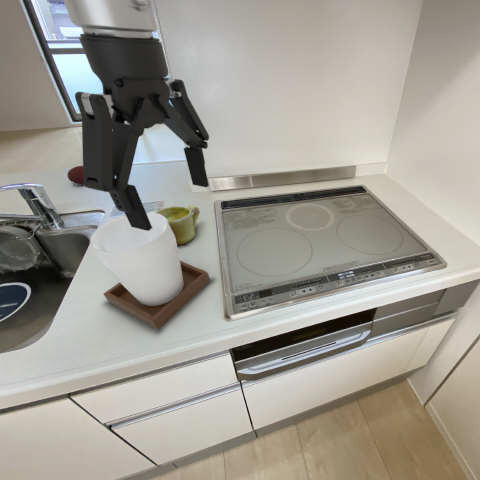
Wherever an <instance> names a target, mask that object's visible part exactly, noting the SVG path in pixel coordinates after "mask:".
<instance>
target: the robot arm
mask: <svg viewBox="0 0 480 480" xmlns="http://www.w3.org/2000/svg"><path fill="white" fill-rule="evenodd" d="M62 1H63V3H64V6H65V8H66V11H67V13H68V16H69V18H70V21H71V23H72V24H73V25H75V26H76V27H79V28H81V30H82V32H83V33H80V34H79V36H80V37H78V39H79V42H80V44H81V47H82V50H83V52H84V54H85V58H86V59H87V62H88V64H89V67H90V70H91V71H92V73H93V74H95V76H96V77H97V78H98V79H99V80H100V82H101V85H102V86H101V87H102V93H91V92H84V91H76V92H75V94H74V99H75V101H76V104H77V107H78V110H79V113H80V116H81V139H82V140H81V141H82V166H83V183H84V184H83V185H84V187H85V188H86V189H91V190H95V191H99V192H105V193H108V194H109V196H110V198H111V200H112V202H113V205H114V206H115V208H116V209H117V210H118V211H119V212H123V213H124V215H126V217H127V219H128V221H129V223H130V225H131V227H134V228H138V229H142V230H146V231H149V230H150V229H152V226H151V223H150V221H149V219H148V216H147V214H146V212H147V211H146V209H145V206H144V204H143V202H142V200H141V197H140V195H139V192H138V189H137V188H136V185H133V184H129V180H130V177H131V172H132V169H133V163H134V159H135V155H136V151H137V148H138V147H137V146H138V142H139V138H140V137H141V136H142V137H143V135H144V133H145V129H146V130H147V129H150V128H153V127H154V126H155V125H163V124H164V125H165V126H166V128H168V129H169V130H170V131H171V132H173V134H175V135H176V137H177V138H179V139H180V140H181V141H182V142H183V143H184V144H185V145H186V147H183V152H184V156H185V159H186V163H187V168H188V172H189V175H190V179H191V181H192V182H191V183H192V185H193V186H198V187H203V188H208V187H209V186H210V184H209V179H208V175H207V169H206V161H205V156H204V155H205V154H204V151H203V149H204V150H207V149H208V147H209V144H208V141H209V140H210V135H209V133H208V131H207V128H206V127H205V126H204V124H203V122H202V120H201V118H200V116H199V114H198V112H197V110H196V109H195V107H194V105H193V103H192V101H191V100H190V98H189V96H188V92H187V89H186V86H185V82H184V81H183V80H182V79H178V78H171V77H168V75H169V68H168V64H167V59H166V56H165V51H164V47H163V44H162V43H163V42H161V41H160V40H159V38H157V37H154V34H153V33H156V32H157V30H158V26H157V22H156V18H155V15H154V10H153V6H152V3H151V0H62ZM125 122H126V123H125Z"/></svg>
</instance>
